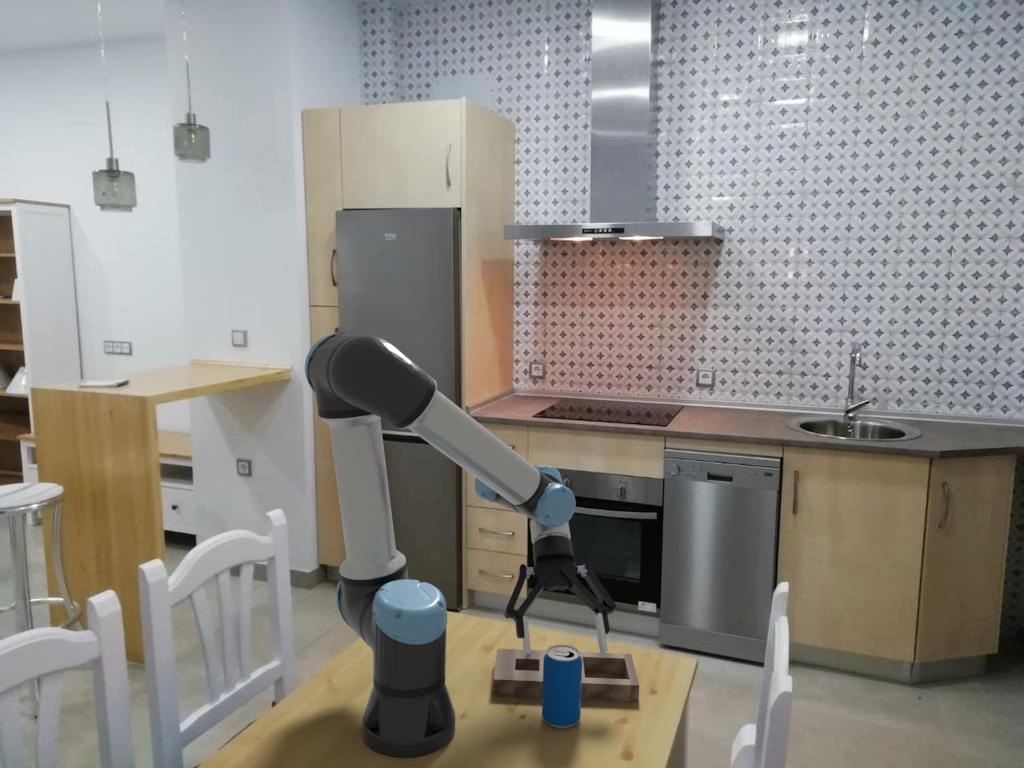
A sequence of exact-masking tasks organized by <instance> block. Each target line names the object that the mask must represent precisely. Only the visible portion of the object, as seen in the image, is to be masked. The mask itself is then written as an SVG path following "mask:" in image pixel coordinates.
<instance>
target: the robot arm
mask: <svg viewBox="0 0 1024 768" xmlns="http://www.w3.org/2000/svg"><path fill="white" fill-rule="evenodd" d="M304 374H305V379H306V381H307V384H308V385H309V387H310V388H311V390H312V391H313V392H314V393H315V400H316V407H317V415H318V419H320V420H321V421H323V422H324V423H325V424H327V426H328V427H329V432H330V433H329V435H330V442H331V450H332V458H333V464H334V472H335V480H336V485H337V486H336V487H337V495H338V503H339V510H340V516H341V517H340V518H341V525H342V533H343V541H344V547H345V554H346V557H345V559H344V561H343V562H342V563H341V564H340V566H339V578H340V579H339V581H338V582H337V586H336V590H335V602H336V606H337V609H338V612H339V614H340V616H341V618H342V620H343V621H344V622H345V624H346V625H348V626H349V627H350V629H352V630H353V631H354V633H356V634H357V636H359V637H360V638H361V640H363V642H364V643H366V645H367V646H368V647H369V648H370V649H371V650H372V654H373V655H372V657H373V658H372V659H373V662H372V663H373V664H372V665H373V666H372V667H373V668H372V669H373V670H372V673H373V674H372V677H373V679H372V680H373V681H372V683H373V684H372V689H371V692H370V695H369V697H368V701H367V704H366V706H365V709H364V713H363V716H362V719H361V721H362V722H361V727H362V728H361V736H362V739H363V741H364V743H365V744H366V745H367V746H368V747H369V748H370V749H372V750H373V751H376V753H377V752H378V753H380V754H383V755H387V756H392V757H399V758H401V757H402V758H403V757H404V758H405V757H407V758H408V757H417V756H423V755H427V754H430V753H433V752H436V751H437V750H439V749H441V748H442V747H444V746H445V745H446V744H448V743H449V742H450V741H451V740H452V738H453V737H454V735H455V733H456V712H455V709H454V706H453V702H452V699H451V697H450V694H449V690H448V688H447V684H446V668H447V667H446V666H447V665H446V663H447V662H446V660H447V659H446V658H447V626H448V611H447V602H446V598H445V597H444V594H443V593H442V592H441V590H440V589H439V588H438V587H436V586H434V585H433V584H431V583H429V582H426V581H423V582H421V581H420V580H417V579H409V575H408V565H407V559H406V556H405V555H404V554H403V553H402V552H401V551H399V550H398V549H397V548H396V539H395V530H394V523H393V521H394V520H393V514H392V512H393V511H392V505H391V497H390V489H389V481H388V471H387V464H386V455H385V447H384V439H383V429H382V421H381V419H383V420H385V421H386V422H388V423H390V424H391V425H393V427H395V428H396V429H398V430H405V429H409V430H410V431H411V432H413V433H414V434H415V435H417V436H418V437H420V438H421V439H422V440H424V441H425V442H427V443H428V444H429V445H431V446H432V447H433V448H435V449H436V450H437V451H439V452H440V453H442V454H443V455H445V456H446V457H447V458H449V459H450V460H451V461H452V462H454V463H456V464H457V465H458V466H460V467H461V468H463V469H464V470H465V471H466V472H467V473H469V474H471V475H472V476H473V477H475V478H474V490H475V493H476V495H477V496H478V497H479V498H480V499H483V500H486V501H488V502H490V503H496V504H498V505H501V506H503V507H505V508H507V509H510V510H512V511H514V512H516V513H519V514H521V515H524V516H526V517H527V518H528V519H529V527H530V536H531V543H532V546H531V547H532V553H533V554H532V555H533V564H534V565H533V567H532V566H527V565H526V564H524V563H521V564H520V565H519V568H518V573H517V581H516V584H515V586H514V589H513V591H512V593H511V596H510V598H509V600H508V603H507V605H506V608H505V611H504V616H503V617H504V618H506V619H512V620H513V621H514V623H515V633H516V637H517V639H522V645H523V650H524V657H525V659H529V657H530V655H531V650H532V649H531V639H530V629H529V621H528V619H529V618H528V616H527V615H526V613H527V612H528V611H529V609H531V606H532V605H533V604H534V603H535V601H536V600H537V599H538V597H539V595H540V594H542V592H543V590H544V589H545V590H547V591H548V592H554V591H556V590H557V591H566V589H568V591H570V592H571V593H573V594H575V596H577V597H578V598H579V599H580V600H581V601H582V602H583V603H584V604H585V605H586V606H587V607H588V608H589V609H590V610H591V611H592V612H594V614H596V616H595V618H594V623H595V630H596V636H597V637H596V638H597V643H598V648H599V653H600V655H605V653H608V650H609V647H608V643H607V637H606V635H608V634H609V632H610V629H611V627H610V623H609V622H610V621H609V615H612V614H613V613H614V611H615V610H616V608H617V605H616V602H615V601H614V600H613V599H612V597H611V595H610V594H609V592H608V591H607V590H606V588H605V586H604V585H603V584H602V582H601V581H600V579H599V578H598V576H597V575H596V574H595V572H594V569H593V564H592V563H591V562H589V561H588V562H586V563H585V564H582V565H577V564H576V563H575V560H574V559H575V557H574V551H573V544H572V543H573V542H572V540H571V538H572V537H571V531H570V525H569V521H570V520H571V518H573V515H574V513H575V511H576V502H577V501H576V498H575V495H574V493H573V491H572V490H571V489H570V488H569V487H566V486H565V485H564V484H563V480H562V476H561V473H560V471H559V470H558V468H555V467H554V466H551V465H545V466H544V465H537V466H534V465H533V464H532V463H531V462H529V461H527V460H526V459H525V458H524V457H523V456H522V455H520V454H519V453H518V452H516V450H514V449H513V448H511V447H510V446H509V445H507V444H506V443H505V442H504V441H502V440H501V439H500V438H499V437H498V436H496V435H495V434H494V433H492V432H491V431H490V430H488V429H487V428H486V427H485V426H484V425H482V424H481V423H480V422H478V421H477V420H476V419H475V418H473V416H471V415H469V414H468V413H467V412H466V411H464V410H463V409H462V408H460V407H459V406H458V405H457V404H455V403H454V402H453V401H452V400H451V399H449V398H448V397H446V396H445V395H444V394H443V393H442V392H441V391H439V390H438V383H437V381H436V380H435V379H434V378H433V377H432V376H431V375H429V374H428V373H427V372H425V370H423V368H420V366H419V365H417V364H416V363H415V362H414V361H413V360H411V358H410V357H408V356H407V355H405V354H404V353H403V352H402V351H401V350H400V349H399V348H397V347H396V346H395V345H393V344H392V343H390V342H389V341H387V340H385V339H384V338H382V337H378V336H375V335H370V334H358V333H356V332H353V331H345V332H343V331H340V332H334V333H329V334H327V335H325V336H324V337H323V336H322V337H321V338H319V340H317V341H316V342H315V343H314V344H313V345H312V347H310V349H309V351H308V353H307V356H306V358H305V361H304ZM577 574H580V575H581V577H582V578H584V580H585V581H586V582H587V584H588V586H589V587H590V589H591V591H592V592H593V594H592V592H591V591H589V589H587V588H586V587H585V586H584V584H582V582H581V580H580V579H578V578H577V577H576V576H577ZM531 575H532V576H533V577H534V578H535V579H536V580H537V582H536V585H534V587H533V589H532V590H531V591H530V593H529V594H528V595H527V597H526V598H524V601H523V602H522V603H521V605H520V606H519V608H518V609H515V607H516V604H517V601H518V600H519V597H520V594H521V592H522V589H523V588H524V585H525V581H526V580H528V579H530V576H531ZM525 615H526V616H525Z"/></svg>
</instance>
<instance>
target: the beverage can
mask: <svg viewBox="0 0 1024 768" xmlns="http://www.w3.org/2000/svg"><path fill="white" fill-rule="evenodd" d="M580 652H581V651H580V650H579V649H578V648H576V647H574V646H571V645H567V644H556V645H555V644H554V645H551V646H549V647H548V648H547V649H546V654H545V656H544V664H543V697H541V698H542V702H541V704H542V706H541V717H542V719H543V720H544V721H545V722H546V723H548V725H550V726H551V727H553V728H558V729H567V728H571V727H573V726H575V725H576V724H577V723H579V721H580V720H581V706H582V705H581V703H582V699H581V682H582V658H581V656H580Z"/></svg>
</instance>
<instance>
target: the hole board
mask: <svg viewBox="0 0 1024 768" xmlns="http://www.w3.org/2000/svg"><path fill="white" fill-rule="evenodd" d="M546 651H547V649H546V650H543V649H542V650H540V649H531V655H530V657H529V659H525V657H524V649H523V648H522V649H519V648H517V649H515V648H496V656H495V664H494V669H493V670H494V671H493V679H492V680H493V681H492V683H493V684H492V685H493V686H492V696H500V697H501V696H503V697H504V696H505V697H529V698H543V664H544V656H545V654H546ZM579 652H580V656H581V658H582V682H581V700H594V701H595V700H597V701H615V702H617V701H618V702H619V701H620V702H622V701H623V702H640V699H639V698H640V683H639V680H638V678H639V677H638V675H637V672H636V667H635V664H634V659H633V656H632V654H631V653H619V652H618V653H617V652H616V653H615V652H614V653H613V652H606V653H605V655H600V652H593V651H592V652H591V651H579ZM585 673H600V674H601V673H602V674H603V673H606V674H623V676H624V678H605V677H604V678H603V677H601V678H599V677H586V675H585Z"/></svg>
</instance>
